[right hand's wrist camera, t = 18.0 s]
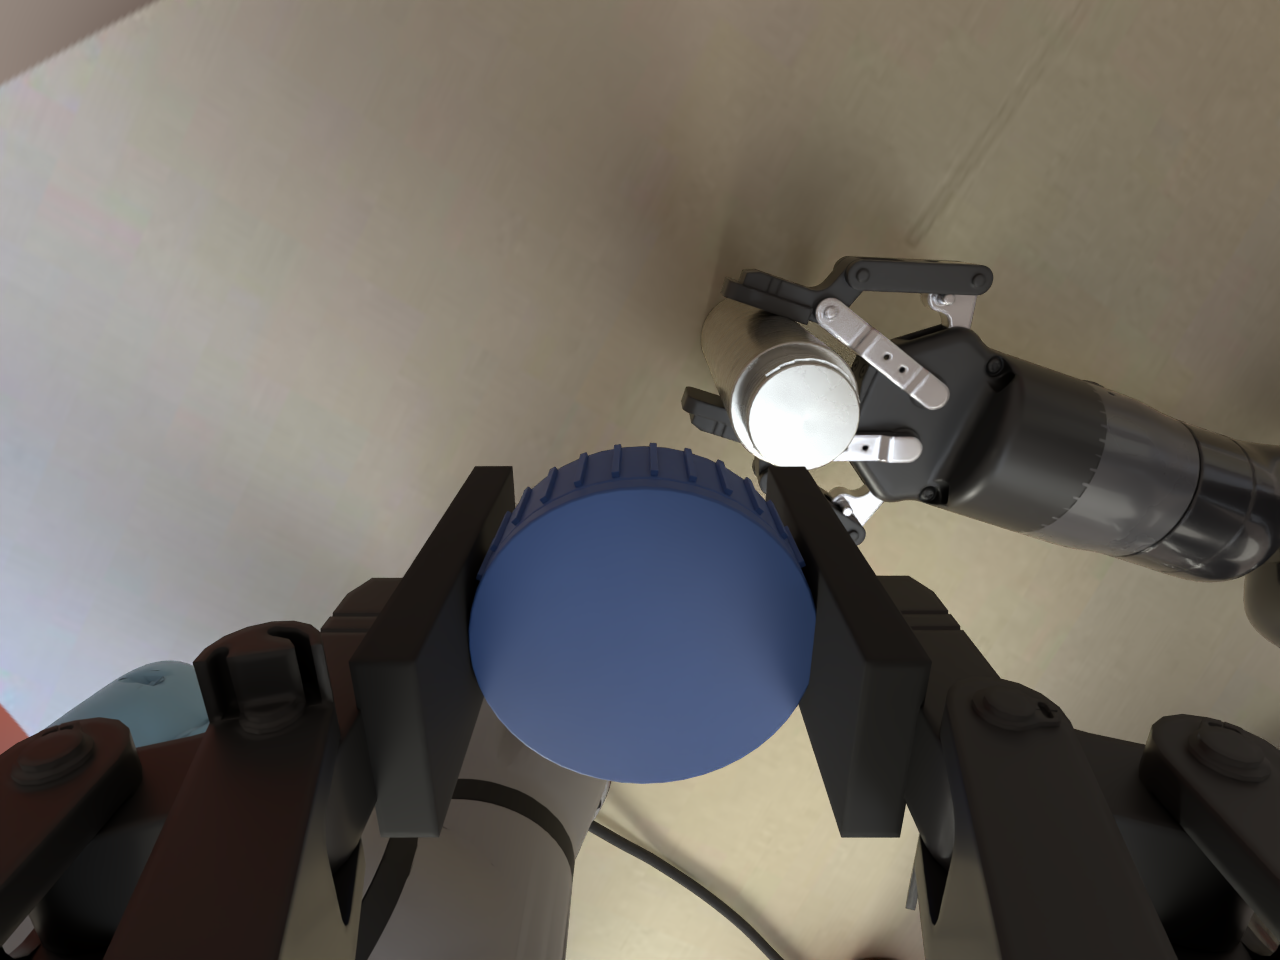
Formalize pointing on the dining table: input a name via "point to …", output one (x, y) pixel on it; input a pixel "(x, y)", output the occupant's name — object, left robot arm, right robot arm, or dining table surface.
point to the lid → (642, 617)
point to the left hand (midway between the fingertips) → (705, 344)
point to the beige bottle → (780, 386)
